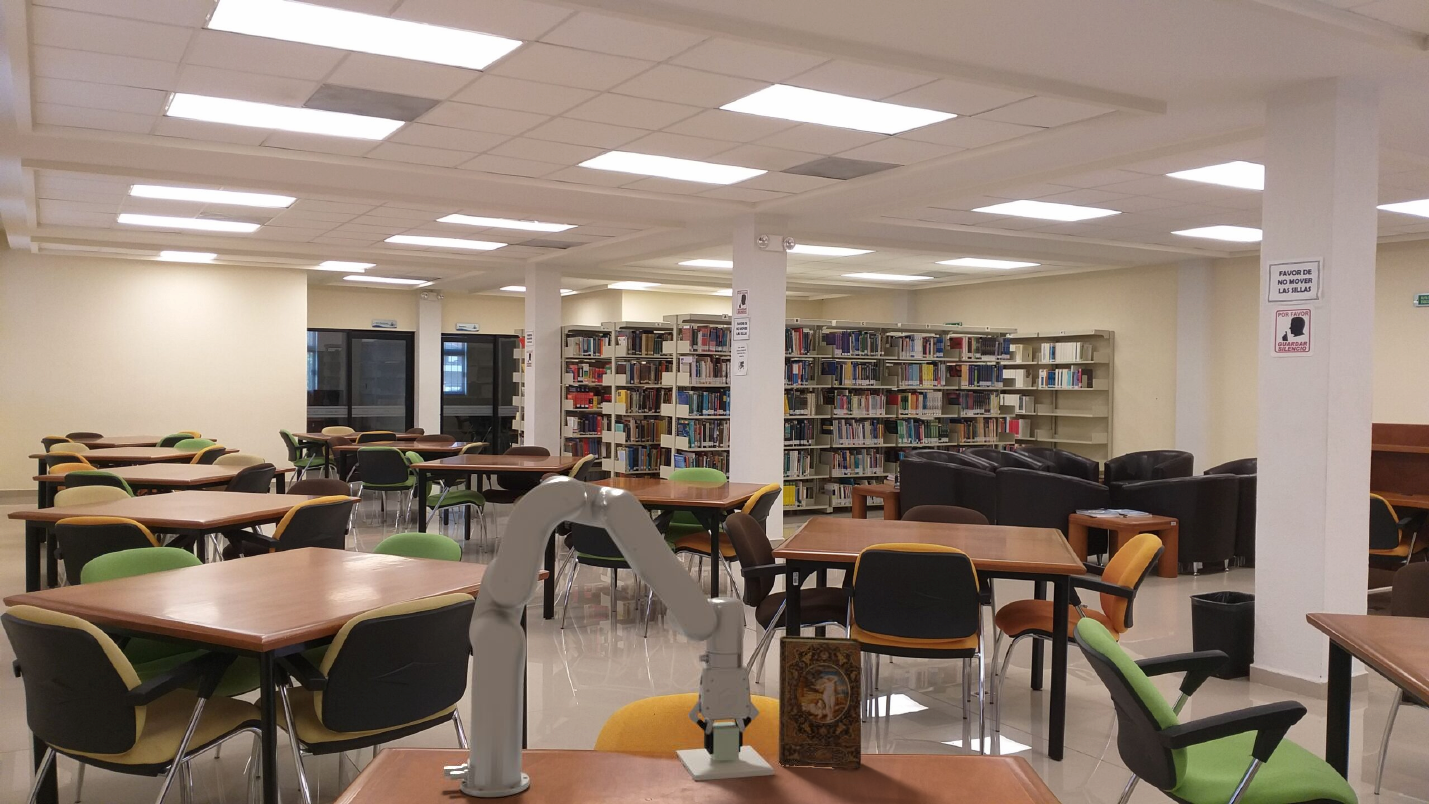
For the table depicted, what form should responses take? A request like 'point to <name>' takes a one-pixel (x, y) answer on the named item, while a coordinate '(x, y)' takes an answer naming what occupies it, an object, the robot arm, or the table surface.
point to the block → (725, 741)
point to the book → (820, 702)
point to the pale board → (724, 764)
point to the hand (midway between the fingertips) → (723, 750)
